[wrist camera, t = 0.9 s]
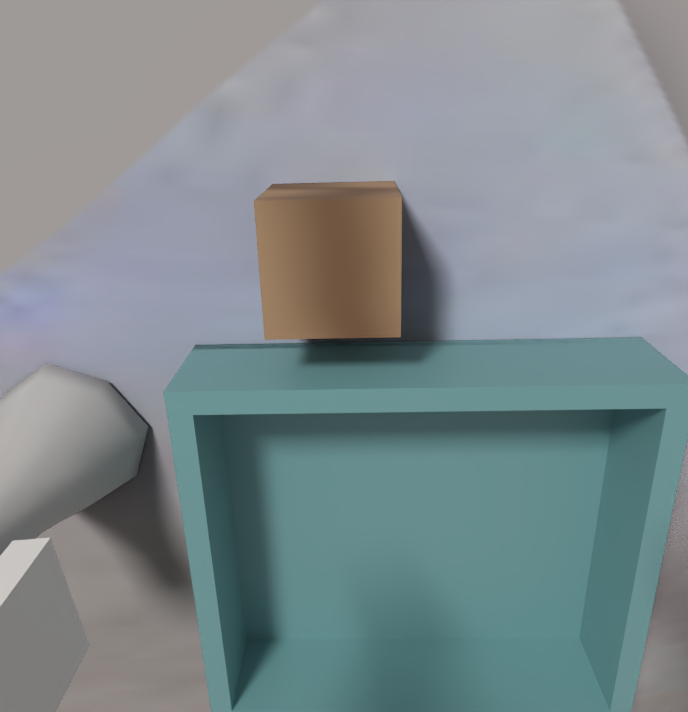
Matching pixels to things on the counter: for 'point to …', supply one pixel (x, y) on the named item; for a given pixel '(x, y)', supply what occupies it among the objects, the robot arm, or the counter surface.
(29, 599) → the robot arm
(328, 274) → the walnut cube
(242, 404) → the tote
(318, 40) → the counter surface
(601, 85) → the counter surface
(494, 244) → the counter surface
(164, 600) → the counter surface
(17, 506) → the flask
